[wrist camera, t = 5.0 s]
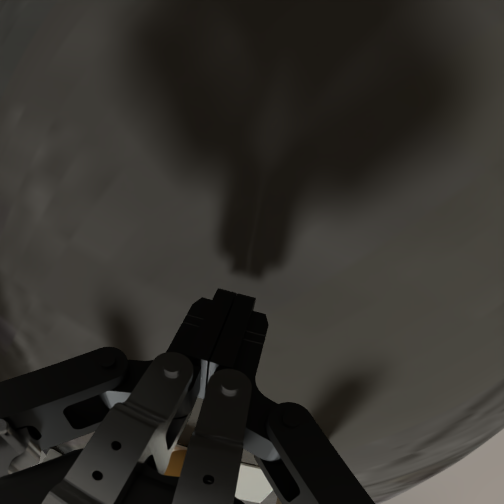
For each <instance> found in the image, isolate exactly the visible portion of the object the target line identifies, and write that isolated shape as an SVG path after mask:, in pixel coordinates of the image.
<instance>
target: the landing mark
mask: <svg viewBox="0 0 504 504" xmlns="http://www.w3.org/2000/svg"><path fill="white" fill-rule="evenodd" d="M176 450H187V447H184V446H181V445H178V444H176V445H175V447H174V449H173V451H176ZM173 451H172V452H173ZM272 491H273V489H272V487H271V485H270V484H269V482H268V480H267V479H266V477H265V475H264V473H263V472H262V470H261V468H260V467H258V466H253V465H249V464H245V463H241V465H240V470H239V476H238V481H237V487H236V492H235V497H236V498H238V499H242V500H247V501H252V502H257V503H261V502H262V501H263V500H264V499H265V498H266V497H267V496H268V495H269V494H270V493H271V492H272Z"/></svg>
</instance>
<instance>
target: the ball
mask: <svg viewBox="0 0 504 504" xmlns="http://www.w3.org/2000/svg"><path fill="white" fill-rule="evenodd" d="M186 452H187V450H176V451H173V452H172V453H171V456H170V460H169V464H168V467H167V469H166V471H165V473H164V475H167V476H176V477H180V473H181V469H182V466H183V462H184V459H185V455H186Z"/></svg>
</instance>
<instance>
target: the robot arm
mask: <svg viewBox="0 0 504 504" xmlns="http://www.w3.org/2000/svg"><path fill="white" fill-rule="evenodd" d="M236 295H237V296H236ZM255 300H256V298H254V297H250V296H246V295H242V294H237V293H234V292H230V291H227V290H223V289H218V290H217V291H216V293H215V295H214V298H213V300H210V299H206V298H201V299H199V300H198V301H196V302H195V303H194V304H192V306H191V308H190V310H189V312H188V313H187V315H186V317H185V319H184V321H183V323H182V324H181V326H180V328H179V330H178V332H177V333H176V335H175V337H174V339H173V341H172V343H171V344H170V346H169V348H168V350H167V351H166V353H162V354H160V355H158V356H157V357H156V358H155V359H154V360H151V361H137V360H127V357H126V355H125V354H124V353H123V352H122V351H121V350H119V349H117V348H114V347H103V348H99V349H97V350H94V351H91V352H88V353H85V354H83V355H80V356H77V357H74V358H71V359H68V360H65V361H63V362H60V363H57V364H54V365H51V366H48V367H45V368H42V369H39V370H36V371H33V372H30V373H27V374H24V375H21V376H18V377H15V378H12V379H9V380H5V381H2V382H0V504H244V503H243V502H242V501H241V500H239V499H238V498H236V497H235V492H236V487H237V481H238V476H239V470H240V465H241V459H242V453H243V449H245V450H247V451H249V452H250V453H252V454H254V458H255V460H256V461H257V463H258V465H259V467H260V468H261V470H262V472H263V473H264V475H265V477H266V479H267V480H268V482H269V484H270V485H271V487H272V489H273V490H274V492H275V494H276V495H277V497H278V498H279V500H280V502H281V503H282V504H375V503H374V502H373V500H372V499H371V498H370V496H369V495H368V494H367V492H366V491H365V490H364V488H363V487H362V486H361V484H360V483H359V481H358V480H357V479H356V477H355V476H354V475H353V473H352V472H351V471H350V469H349V468H348V466H347V465H346V464H345V462H344V461H343V460H342V458H341V457H340V455H339V454H338V453H337V451H336V450H335V448H334V447H333V446H332V444H331V443H330V441H329V440H328V439H327V437H326V436H325V434H324V433H323V431H322V430H321V429H320V427H319V426H318V424H317V423H316V421H315V420H314V419H313V417H312V416H311V414H310V413H309V412H308V410H307V409H306V408H304V407H303V406H301V405H299V404H296V403H292V402H285V403H280V404H277V403H275V402H273V401H272V400H270V399H268V398H267V397H265V396H264V395H263V394H262V393H261V392H260V391H259V390H258V388H257V386H256V382H255V376H256V372H257V368H258V364H259V360H260V356H261V352H262V348H263V344H264V341H265V337H266V333H267V329H268V321H267V318H266V314H263V313H259V312H255V311H253V309H254V305H255ZM197 397H200V398H203V403H202V406H201V410H200V413H199V417H198V420H197V424H196V427H195V431H194V433H192V435H191V438H190V441H189V445H188V448H187V452H186V455H185V459H184V462H183V466H182V469H181V473H180V477H176V476H167V475H164V473H165V471H166V469H167V467H168V464H169V460H170V456H171V453H172V451H173V449H174V447H175V445H176V443H177V441H178V439H179V437H180V435H181V434H182V432H183V430H184V428H185V426H186V424H187V422H188V420H189V418H190V416H191V413H192V409H193V407H194V404H195V402H196V399H197ZM94 431H95V433H94V434H93V436H92V437H91V439H90V440H89V442H88V443H87V445H86V446H85V448H84V449H78V450H74V451H71V452H69V453H66V454H64V455H61V456H59V457H56V458H54V459H51V460H48V461H46V462H43V463H40V464H38V463H39V461H40V456H41V450H44V449H47V448H50V447H53V446H56V445H59V444H62V443H65V442H67V441H70V440H73V439H76V438H78V437H81V436H84V435H86V434H89V433H92V432H94ZM36 464H38V465H36ZM33 465H35V466H33ZM31 466H32V467H31Z"/></svg>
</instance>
